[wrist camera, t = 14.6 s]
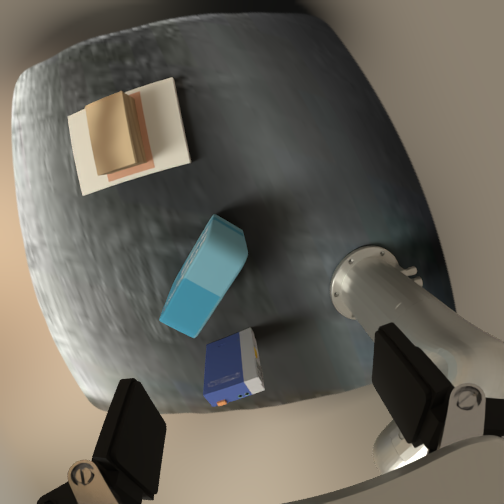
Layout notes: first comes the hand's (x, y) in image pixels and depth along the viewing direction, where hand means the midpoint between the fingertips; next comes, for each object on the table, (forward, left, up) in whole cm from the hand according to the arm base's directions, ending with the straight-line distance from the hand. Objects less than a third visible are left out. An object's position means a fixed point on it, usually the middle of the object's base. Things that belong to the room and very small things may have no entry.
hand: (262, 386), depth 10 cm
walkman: (+5, +19, -31) cm, 36 cm away
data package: (+5, +4, -31) cm, 31 cm away
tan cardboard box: (+12, -15, -29) cm, 35 cm away
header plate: (+12, -15, -30) cm, 36 cm away
